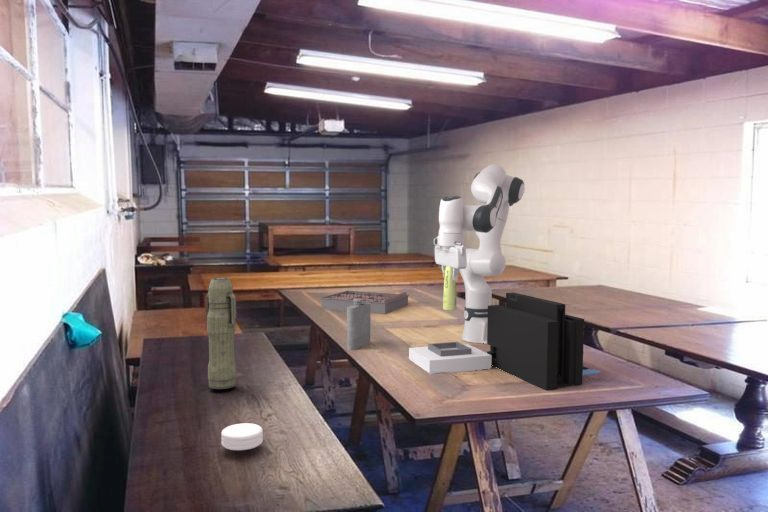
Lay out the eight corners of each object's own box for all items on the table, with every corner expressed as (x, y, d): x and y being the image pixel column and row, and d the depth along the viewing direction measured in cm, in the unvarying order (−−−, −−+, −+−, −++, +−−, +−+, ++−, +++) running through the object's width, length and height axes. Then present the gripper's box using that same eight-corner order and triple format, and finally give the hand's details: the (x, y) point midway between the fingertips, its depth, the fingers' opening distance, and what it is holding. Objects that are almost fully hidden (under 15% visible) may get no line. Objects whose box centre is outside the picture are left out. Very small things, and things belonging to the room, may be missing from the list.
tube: (438, 309, 230) (439, 256, 228) (446, 307, 234) (447, 255, 232) (451, 311, 226) (452, 257, 224) (459, 309, 230) (460, 256, 228)
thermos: (216, 379, 211) (214, 275, 209) (245, 383, 207) (243, 277, 204) (198, 386, 203) (196, 278, 200) (228, 390, 199) (226, 280, 196)
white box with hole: (466, 356, 245) (467, 338, 244) (491, 369, 226) (491, 349, 225) (408, 360, 237) (409, 342, 237) (429, 374, 218) (429, 354, 218)
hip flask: (352, 351, 252) (352, 302, 250) (343, 350, 254) (343, 301, 252) (371, 344, 266) (371, 297, 264) (363, 343, 268) (363, 296, 266)
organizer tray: (347, 303, 372) (347, 287, 371) (409, 308, 355) (409, 291, 355) (319, 312, 343) (319, 294, 343) (385, 318, 326) (385, 299, 326)
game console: (486, 364, 233) (488, 292, 231) (553, 356, 245) (555, 288, 243) (546, 390, 201) (548, 307, 199) (619, 380, 213) (622, 301, 211)
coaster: (213, 447, 153) (212, 433, 153) (237, 433, 163) (236, 420, 162) (247, 453, 150) (247, 439, 149) (270, 439, 159) (270, 425, 159)
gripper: (471, 242, 219) (470, 282, 220) (447, 239, 238) (446, 275, 239) (454, 243, 217) (454, 282, 218) (431, 239, 236) (431, 276, 237)
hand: (450, 279), depth 229 cm, fingers closed on tube, 6 cm apart
